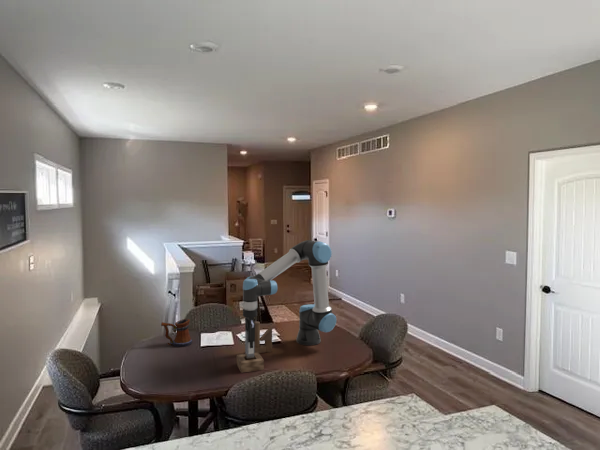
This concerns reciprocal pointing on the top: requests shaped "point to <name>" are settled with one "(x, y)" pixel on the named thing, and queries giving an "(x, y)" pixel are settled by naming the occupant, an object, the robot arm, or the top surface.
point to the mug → (179, 333)
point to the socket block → (250, 363)
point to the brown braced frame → (265, 337)
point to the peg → (247, 345)
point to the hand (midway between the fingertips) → (249, 351)
